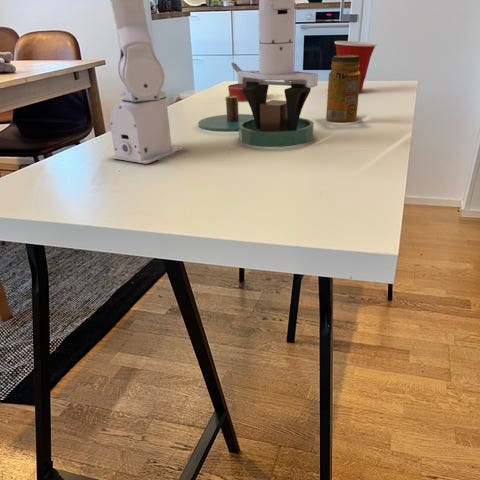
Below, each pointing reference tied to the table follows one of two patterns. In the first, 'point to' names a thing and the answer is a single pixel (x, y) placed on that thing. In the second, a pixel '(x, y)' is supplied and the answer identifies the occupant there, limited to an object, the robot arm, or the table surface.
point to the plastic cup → (360, 50)
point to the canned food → (237, 87)
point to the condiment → (343, 89)
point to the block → (273, 116)
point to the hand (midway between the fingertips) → (276, 129)
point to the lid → (226, 118)
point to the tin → (276, 134)
